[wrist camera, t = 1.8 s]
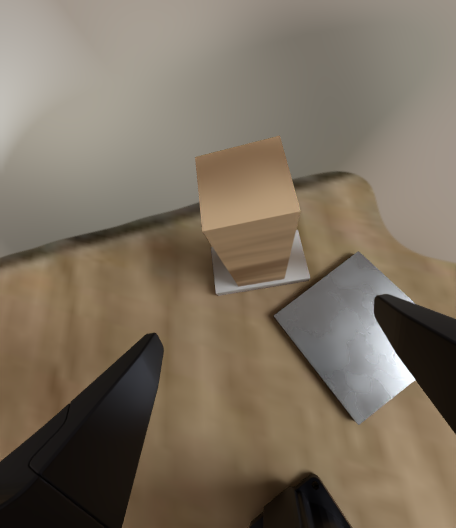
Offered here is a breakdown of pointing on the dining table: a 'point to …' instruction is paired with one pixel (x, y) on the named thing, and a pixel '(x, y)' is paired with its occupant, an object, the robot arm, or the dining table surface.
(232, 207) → the block
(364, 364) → the steel plate
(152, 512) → the dining table surface
